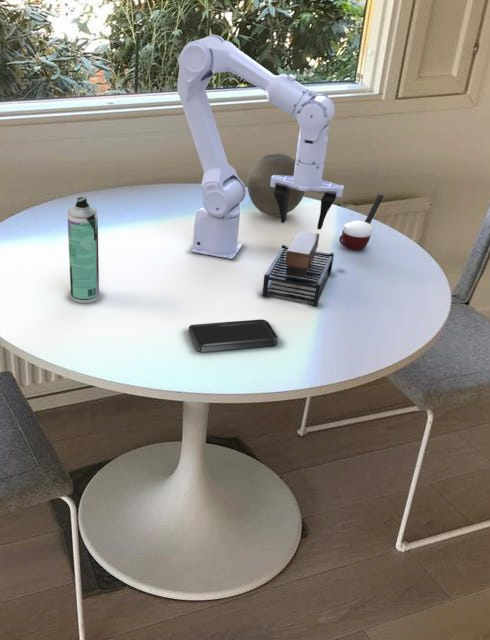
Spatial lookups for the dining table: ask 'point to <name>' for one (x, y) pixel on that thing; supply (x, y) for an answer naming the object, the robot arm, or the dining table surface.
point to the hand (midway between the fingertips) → (301, 224)
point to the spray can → (83, 252)
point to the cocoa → (359, 230)
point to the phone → (232, 335)
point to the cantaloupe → (261, 182)
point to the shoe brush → (301, 253)
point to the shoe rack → (317, 284)
